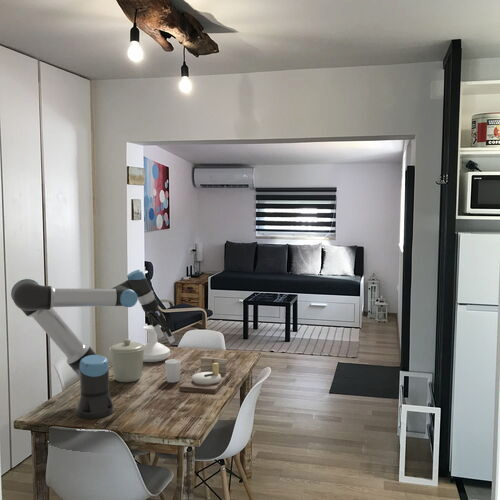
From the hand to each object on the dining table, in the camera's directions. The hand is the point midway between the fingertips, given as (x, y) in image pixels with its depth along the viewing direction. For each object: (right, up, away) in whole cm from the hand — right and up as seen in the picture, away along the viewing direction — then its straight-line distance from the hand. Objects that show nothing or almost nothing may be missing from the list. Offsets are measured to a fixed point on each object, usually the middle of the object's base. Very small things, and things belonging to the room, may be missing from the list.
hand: (166, 339), depth 251 cm
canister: (-23, -24, +17) cm, 37 cm away
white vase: (-17, -21, +54) cm, 60 cm away
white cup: (+1, -24, +15) cm, 28 cm away
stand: (+18, -24, +11) cm, 31 cm away
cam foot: (+18, -21, +8) cm, 29 cm away
